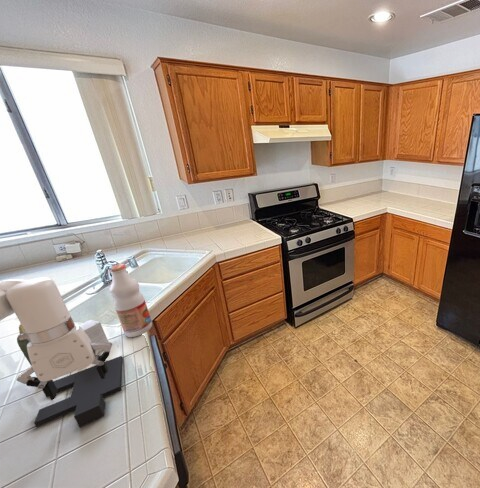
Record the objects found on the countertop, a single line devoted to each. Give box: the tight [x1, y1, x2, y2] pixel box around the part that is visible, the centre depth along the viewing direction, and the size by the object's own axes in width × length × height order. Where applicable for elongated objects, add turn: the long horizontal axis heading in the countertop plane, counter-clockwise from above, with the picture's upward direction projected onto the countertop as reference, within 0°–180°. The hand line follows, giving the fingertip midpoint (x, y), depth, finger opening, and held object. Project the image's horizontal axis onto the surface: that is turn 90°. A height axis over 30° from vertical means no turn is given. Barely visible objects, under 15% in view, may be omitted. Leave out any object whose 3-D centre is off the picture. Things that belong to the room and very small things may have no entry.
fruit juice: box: [108, 263, 153, 338], centre depth 100 cm, size 9×9×28 cm
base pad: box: [33, 355, 124, 428], centre depth 79 cm, size 18×16×2 cm
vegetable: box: [16, 322, 32, 366], centre depth 83 cm, size 4×4×20 cm
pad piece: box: [73, 393, 107, 428], centre depth 70 cm, size 5×5×4 cm
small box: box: [78, 319, 110, 354], centre depth 93 cm, size 8×6×10 cm
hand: (80, 385), depth 67 cm, fingers open, 9 cm apart
